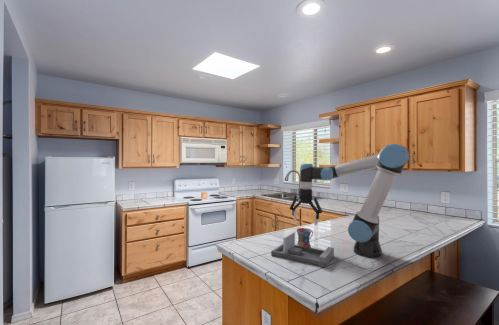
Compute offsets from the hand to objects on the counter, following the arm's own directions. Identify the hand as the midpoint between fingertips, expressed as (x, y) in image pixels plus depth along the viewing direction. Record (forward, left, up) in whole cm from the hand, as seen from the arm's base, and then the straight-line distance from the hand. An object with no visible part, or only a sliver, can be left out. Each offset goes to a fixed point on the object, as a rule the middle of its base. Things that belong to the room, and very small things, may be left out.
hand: (305, 222), depth 158 cm
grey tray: (-4, +16, -15) cm, 22 cm away
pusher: (+1, +16, -14) cm, 21 cm away
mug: (0, 0, -15) cm, 15 cm away
